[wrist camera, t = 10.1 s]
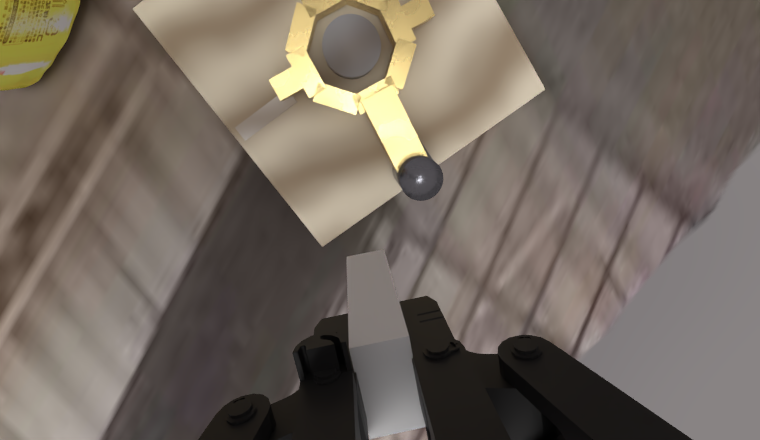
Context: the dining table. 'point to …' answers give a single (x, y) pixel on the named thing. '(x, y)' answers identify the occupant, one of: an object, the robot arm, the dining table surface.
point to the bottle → (32, 38)
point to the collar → (377, 100)
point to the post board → (347, 72)
